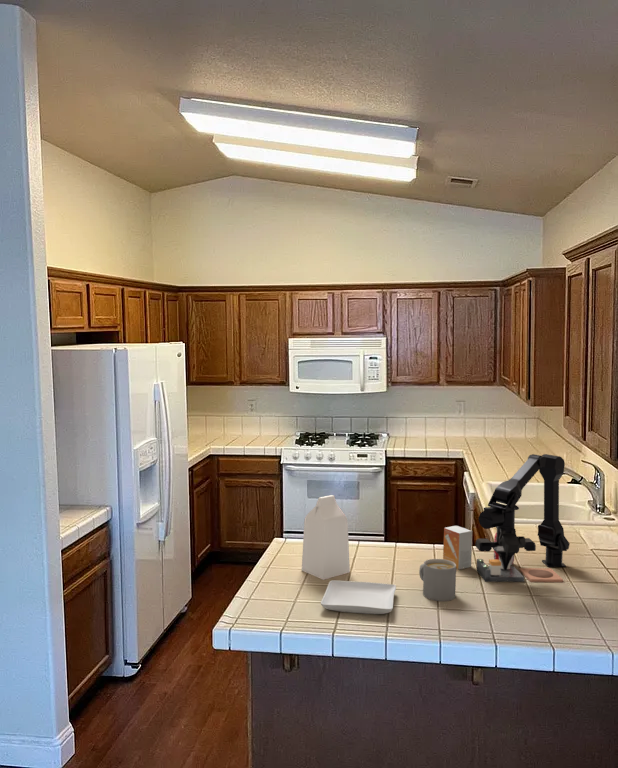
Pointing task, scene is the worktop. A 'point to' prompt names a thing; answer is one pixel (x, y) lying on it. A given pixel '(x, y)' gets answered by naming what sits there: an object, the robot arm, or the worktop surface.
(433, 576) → the coffee mug
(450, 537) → the small box
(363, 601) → the salad plate
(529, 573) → the pink coaster
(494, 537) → the soda can
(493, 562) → the block
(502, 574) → the panel
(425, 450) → the worktop surface
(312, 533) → the milk
